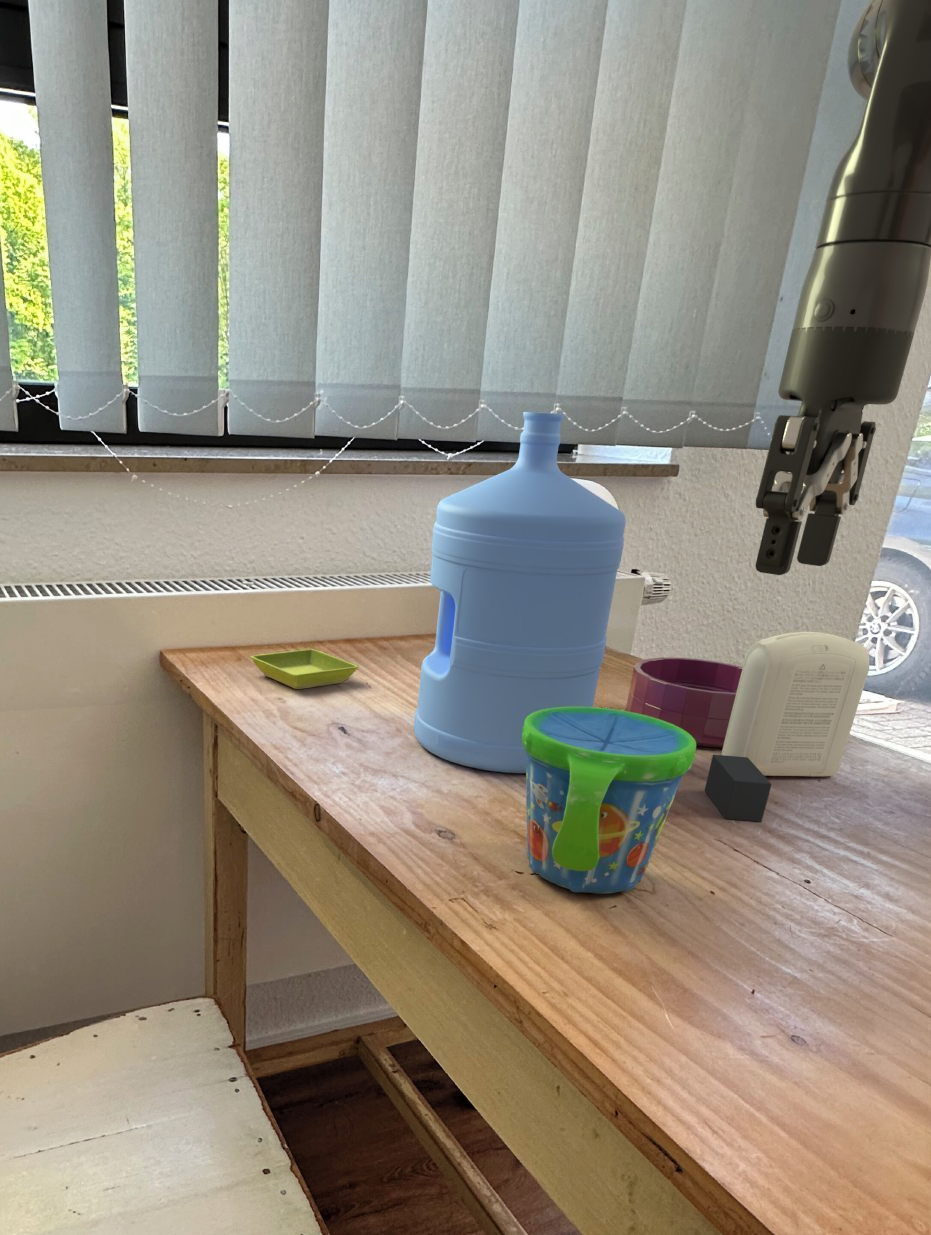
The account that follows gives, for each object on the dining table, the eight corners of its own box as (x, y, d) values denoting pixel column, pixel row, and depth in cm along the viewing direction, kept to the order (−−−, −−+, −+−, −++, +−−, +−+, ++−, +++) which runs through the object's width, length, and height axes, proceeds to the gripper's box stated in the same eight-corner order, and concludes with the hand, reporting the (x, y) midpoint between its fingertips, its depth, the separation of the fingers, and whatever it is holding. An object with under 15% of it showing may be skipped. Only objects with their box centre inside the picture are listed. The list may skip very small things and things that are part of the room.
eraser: (704, 790, 79) (712, 754, 78) (738, 793, 79) (747, 757, 78) (724, 818, 74) (734, 780, 73) (761, 822, 74) (772, 783, 72)
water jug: (609, 743, 89) (670, 419, 78) (546, 792, 77) (607, 417, 66) (459, 708, 97) (494, 409, 85) (381, 747, 85) (410, 405, 73)
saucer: (312, 665, 110) (313, 647, 109) (359, 684, 103) (360, 665, 102) (248, 674, 105) (248, 655, 104) (293, 694, 98) (293, 675, 98)
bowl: (741, 714, 100) (753, 662, 98) (783, 756, 88) (798, 699, 86) (614, 704, 101) (623, 653, 99) (638, 744, 89) (650, 687, 87)
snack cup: (542, 816, 72) (562, 686, 68) (685, 851, 68) (717, 715, 64) (466, 896, 60) (486, 743, 56) (635, 946, 55) (670, 784, 51)
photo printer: (815, 762, 87) (853, 628, 82) (845, 779, 83) (886, 640, 78) (711, 762, 86) (743, 626, 81) (736, 780, 82) (772, 637, 77)
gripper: (882, 315, 58) (811, 586, 64) (941, 334, 67) (874, 568, 74) (758, 316, 62) (703, 569, 69) (829, 334, 72) (776, 554, 79)
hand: (792, 568), depth 71 cm, fingers open, 8 cm apart
